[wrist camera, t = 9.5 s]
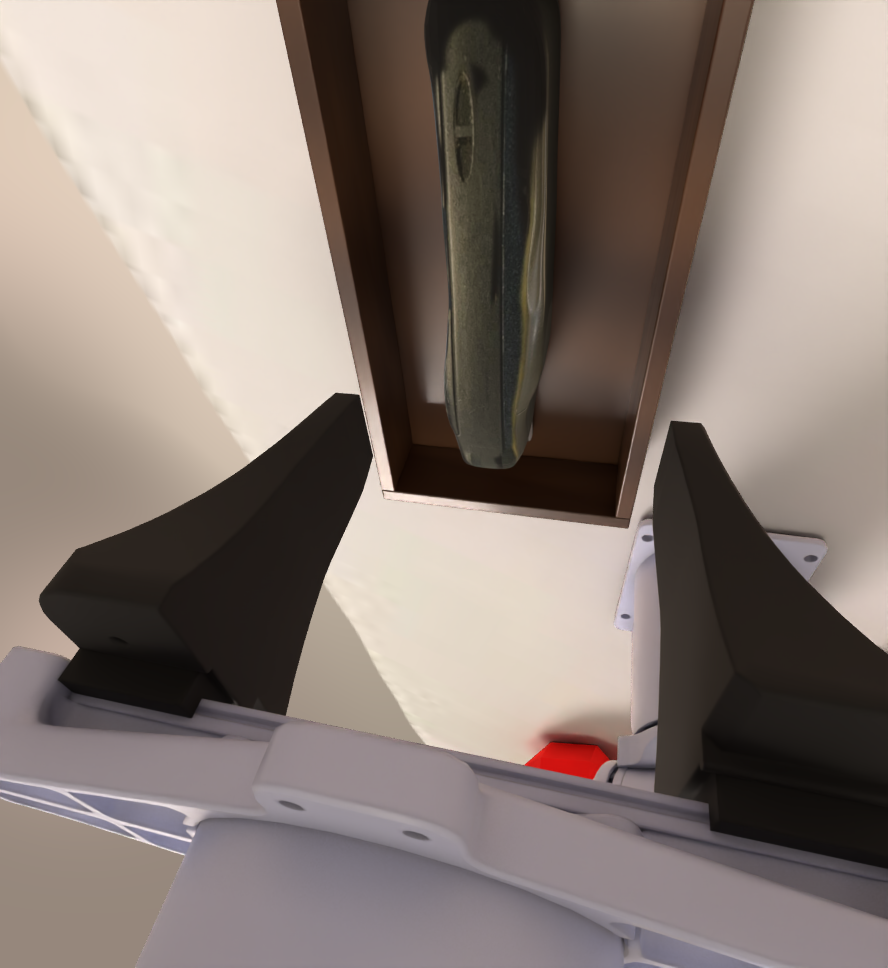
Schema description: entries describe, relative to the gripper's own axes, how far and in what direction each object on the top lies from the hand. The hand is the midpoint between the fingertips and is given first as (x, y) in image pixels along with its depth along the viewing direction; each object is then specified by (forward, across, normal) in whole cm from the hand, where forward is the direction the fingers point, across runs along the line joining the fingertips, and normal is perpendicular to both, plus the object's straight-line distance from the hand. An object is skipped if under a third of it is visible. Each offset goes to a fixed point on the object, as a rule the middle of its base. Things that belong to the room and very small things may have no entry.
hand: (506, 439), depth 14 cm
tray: (+9, +1, 0) cm, 9 cm away
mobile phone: (+9, +1, 0) cm, 9 cm away
